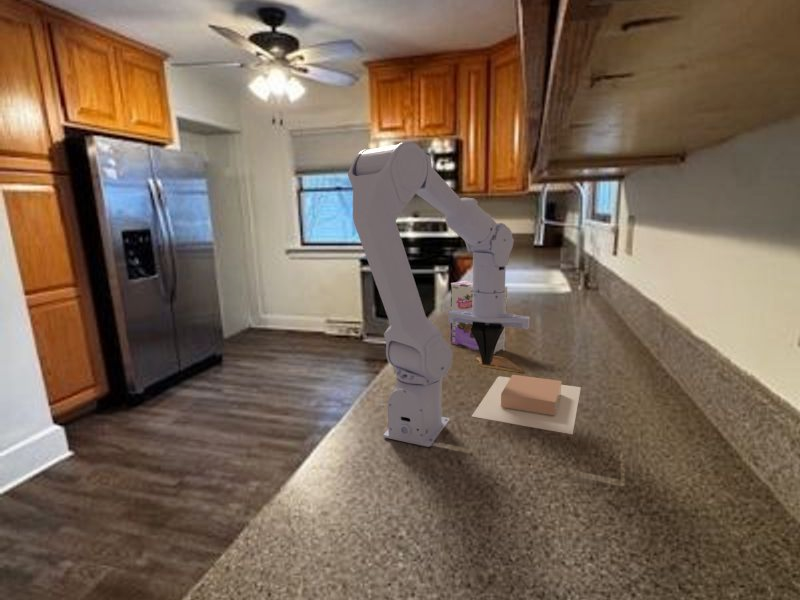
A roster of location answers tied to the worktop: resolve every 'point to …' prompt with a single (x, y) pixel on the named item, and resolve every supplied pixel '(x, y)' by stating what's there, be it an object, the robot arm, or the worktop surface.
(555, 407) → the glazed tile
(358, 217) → the robot arm
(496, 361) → the shard
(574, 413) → the cutting board
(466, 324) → the candy box
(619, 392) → the worktop surface
